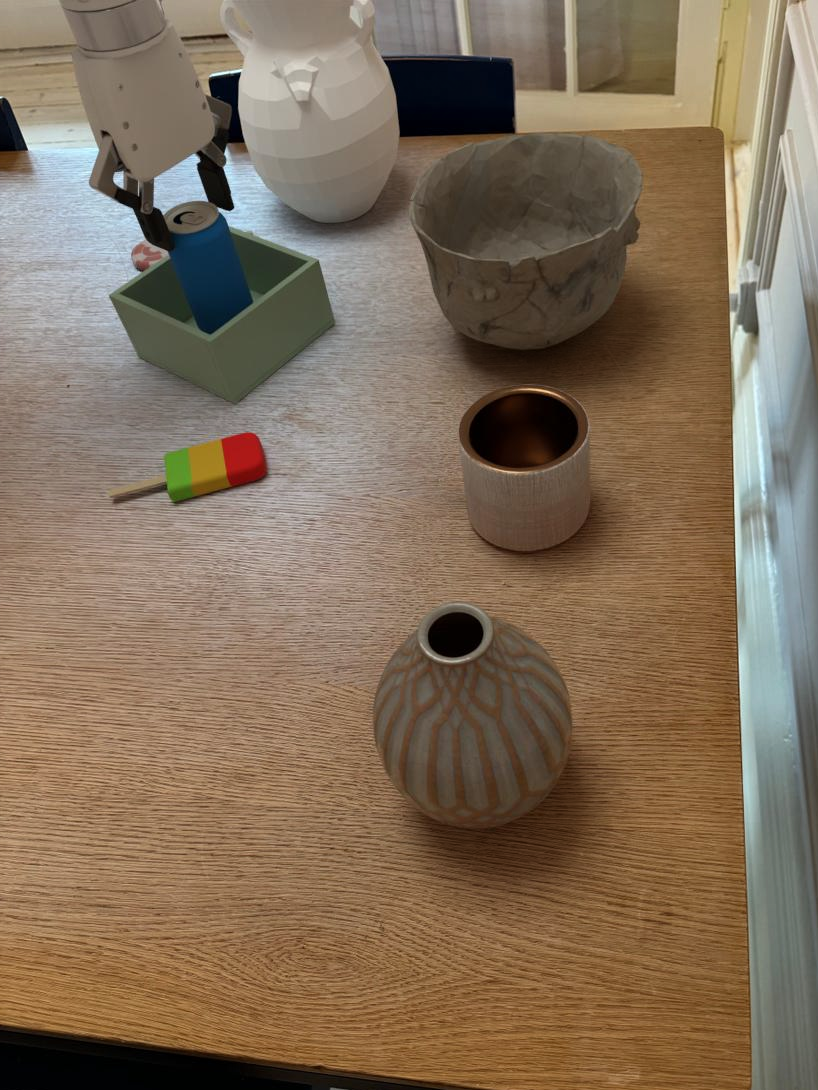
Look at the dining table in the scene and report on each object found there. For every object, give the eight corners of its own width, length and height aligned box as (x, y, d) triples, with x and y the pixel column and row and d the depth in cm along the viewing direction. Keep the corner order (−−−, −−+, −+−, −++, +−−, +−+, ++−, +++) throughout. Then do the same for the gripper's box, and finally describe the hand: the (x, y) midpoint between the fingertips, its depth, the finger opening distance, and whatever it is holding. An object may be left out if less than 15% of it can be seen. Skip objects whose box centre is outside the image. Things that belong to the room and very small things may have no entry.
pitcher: (427, 166, 115) (395, -69, 95) (388, 246, 105) (341, 2, 85) (295, 163, 119) (236, -64, 99) (245, 239, 109) (167, 5, 89)
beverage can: (222, 300, 98) (183, 193, 88) (269, 311, 96) (235, 204, 86) (187, 334, 95) (143, 227, 85) (235, 347, 93) (196, 239, 83)
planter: (570, 455, 82) (570, 370, 74) (605, 540, 76) (608, 457, 68) (457, 480, 81) (444, 398, 74) (482, 568, 75) (471, 488, 67)
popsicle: (270, 478, 84) (264, 464, 82) (113, 521, 83) (104, 506, 81) (262, 441, 87) (256, 426, 86) (111, 482, 86) (103, 467, 84)
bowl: (449, 413, 87) (428, 274, 75) (413, 289, 100) (390, 153, 87) (664, 367, 88) (677, 223, 76) (602, 250, 101) (605, 110, 88)
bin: (138, 356, 97) (108, 295, 91) (238, 283, 104) (216, 221, 97) (235, 404, 91) (210, 341, 85) (335, 323, 97) (319, 259, 91)
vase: (380, 717, 68) (326, 572, 53) (545, 676, 68) (536, 522, 54) (411, 878, 60) (358, 759, 46) (596, 830, 61) (601, 698, 46)
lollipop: (253, 242, 106) (129, 268, 105) (255, 251, 107) (133, 276, 106) (249, 215, 110) (130, 239, 109) (252, 223, 111) (133, 248, 110)
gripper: (166, -27, 77) (230, 176, 92) (2, 54, 70) (100, 260, 84) (224, -14, 74) (281, 194, 89) (60, 72, 67) (151, 283, 81)
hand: (192, 225), depth 86 cm, fingers open, 7 cm apart
